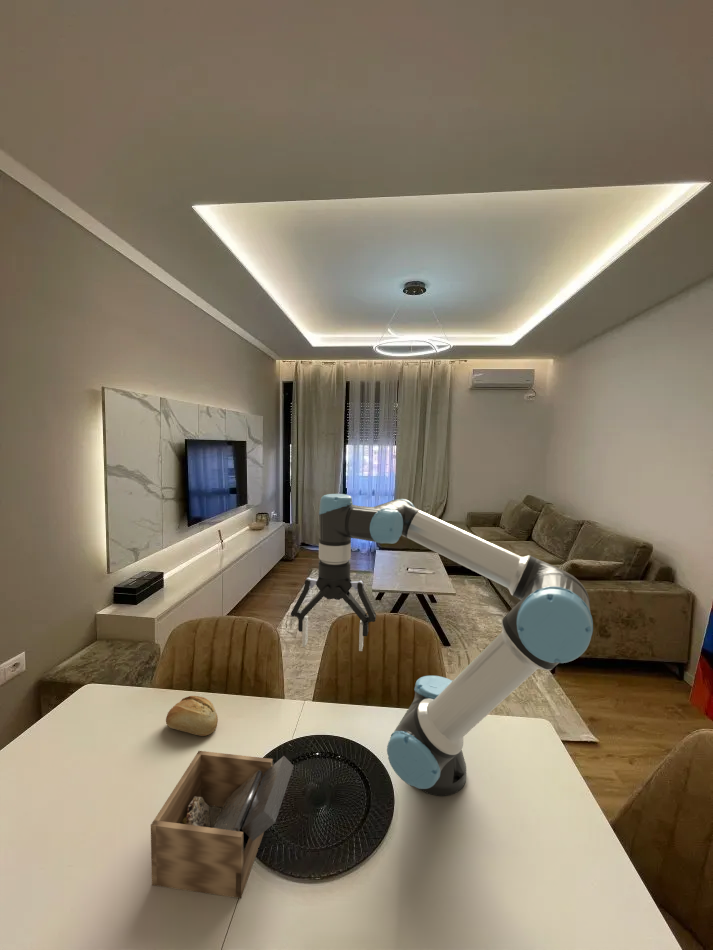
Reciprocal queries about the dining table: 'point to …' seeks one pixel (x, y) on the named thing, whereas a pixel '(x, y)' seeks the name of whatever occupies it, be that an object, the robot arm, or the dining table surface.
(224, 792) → the wooden box
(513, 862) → the dining table surface
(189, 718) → the bread roll
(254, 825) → the trapdoor
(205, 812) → the mineral rock
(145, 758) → the dining table surface
